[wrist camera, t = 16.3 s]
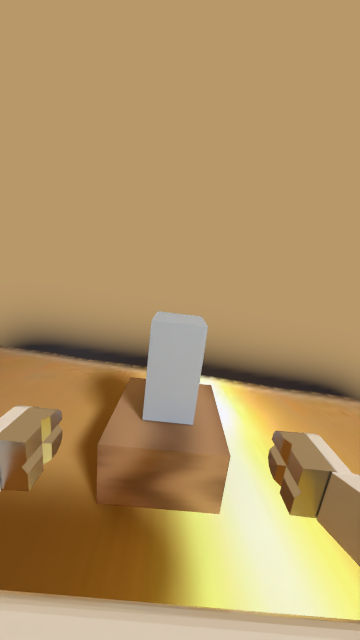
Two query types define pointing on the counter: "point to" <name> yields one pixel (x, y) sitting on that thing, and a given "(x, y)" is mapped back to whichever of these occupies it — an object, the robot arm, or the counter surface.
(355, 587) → the counter surface
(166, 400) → the slate block
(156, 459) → the walnut block
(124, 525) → the counter surface
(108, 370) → the counter surface
